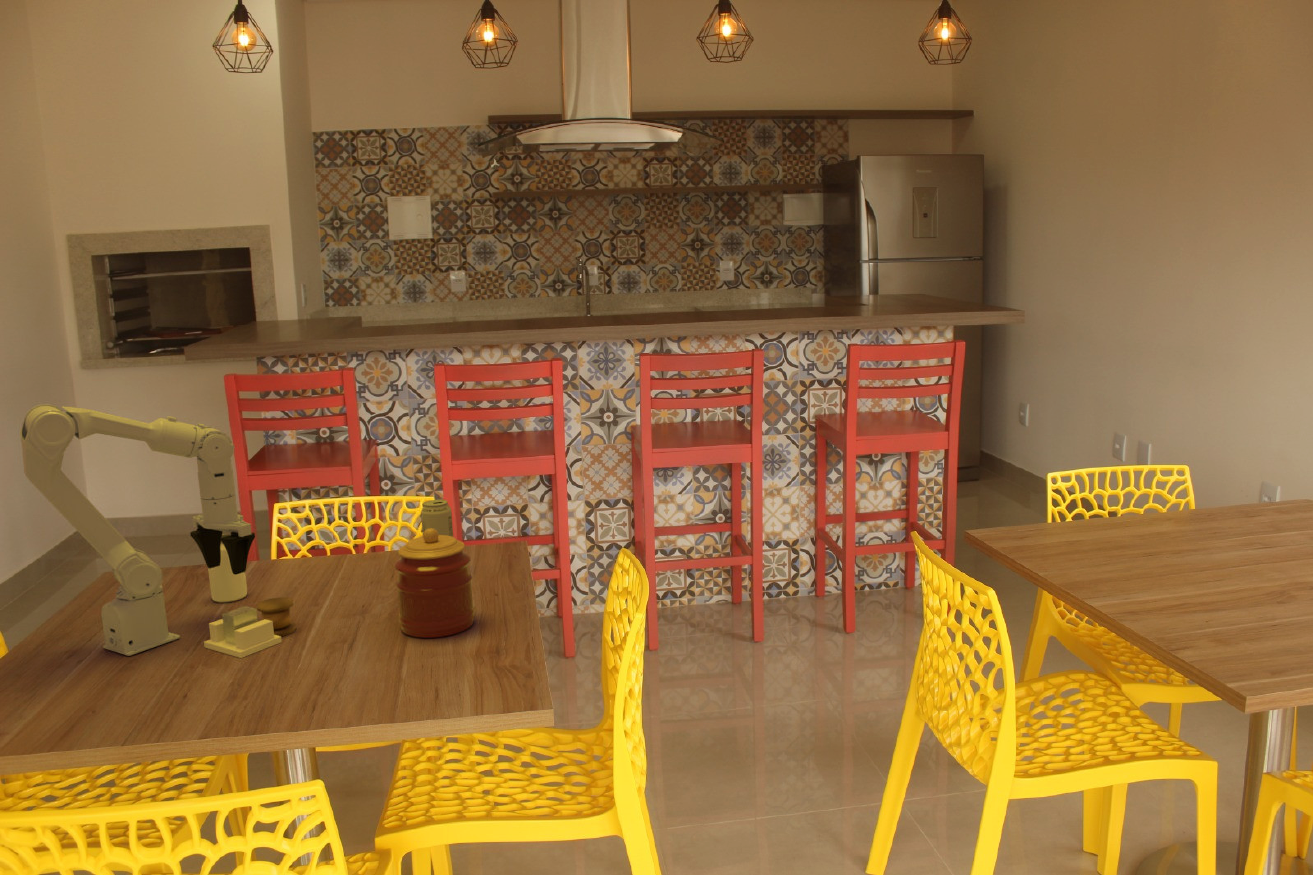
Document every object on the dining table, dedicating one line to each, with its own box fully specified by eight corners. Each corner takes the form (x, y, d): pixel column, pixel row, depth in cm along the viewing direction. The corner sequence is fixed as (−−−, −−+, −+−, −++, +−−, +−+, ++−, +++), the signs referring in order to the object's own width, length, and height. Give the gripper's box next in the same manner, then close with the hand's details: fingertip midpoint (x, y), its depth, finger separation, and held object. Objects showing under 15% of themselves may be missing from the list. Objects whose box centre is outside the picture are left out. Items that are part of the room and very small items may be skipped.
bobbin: (274, 640, 181) (271, 611, 180) (252, 634, 184) (249, 605, 183) (303, 628, 186) (300, 600, 185) (281, 623, 189) (278, 595, 188)
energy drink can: (424, 571, 216) (418, 500, 214) (454, 568, 218) (448, 497, 215) (427, 580, 211) (421, 507, 208) (457, 576, 212) (452, 504, 210)
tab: (259, 636, 180) (256, 608, 179) (236, 645, 176) (233, 616, 176) (248, 633, 182) (245, 605, 181) (225, 642, 178) (222, 613, 177)
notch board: (240, 658, 173) (238, 635, 173) (204, 647, 179) (201, 624, 178) (281, 642, 180) (279, 619, 179) (245, 632, 185) (242, 610, 185)
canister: (401, 643, 177) (392, 542, 174) (398, 618, 189) (390, 523, 186) (479, 633, 180) (471, 534, 177) (471, 609, 193) (464, 515, 190)
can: (223, 605, 200) (216, 544, 198) (205, 599, 204) (198, 539, 202) (254, 595, 205) (247, 536, 203) (235, 590, 209) (229, 531, 207)
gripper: (262, 495, 185) (270, 569, 188) (214, 487, 194) (222, 558, 196) (227, 504, 180) (235, 580, 182) (178, 495, 188) (187, 568, 190)
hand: (226, 569), depth 189 cm, fingers open, 7 cm apart
